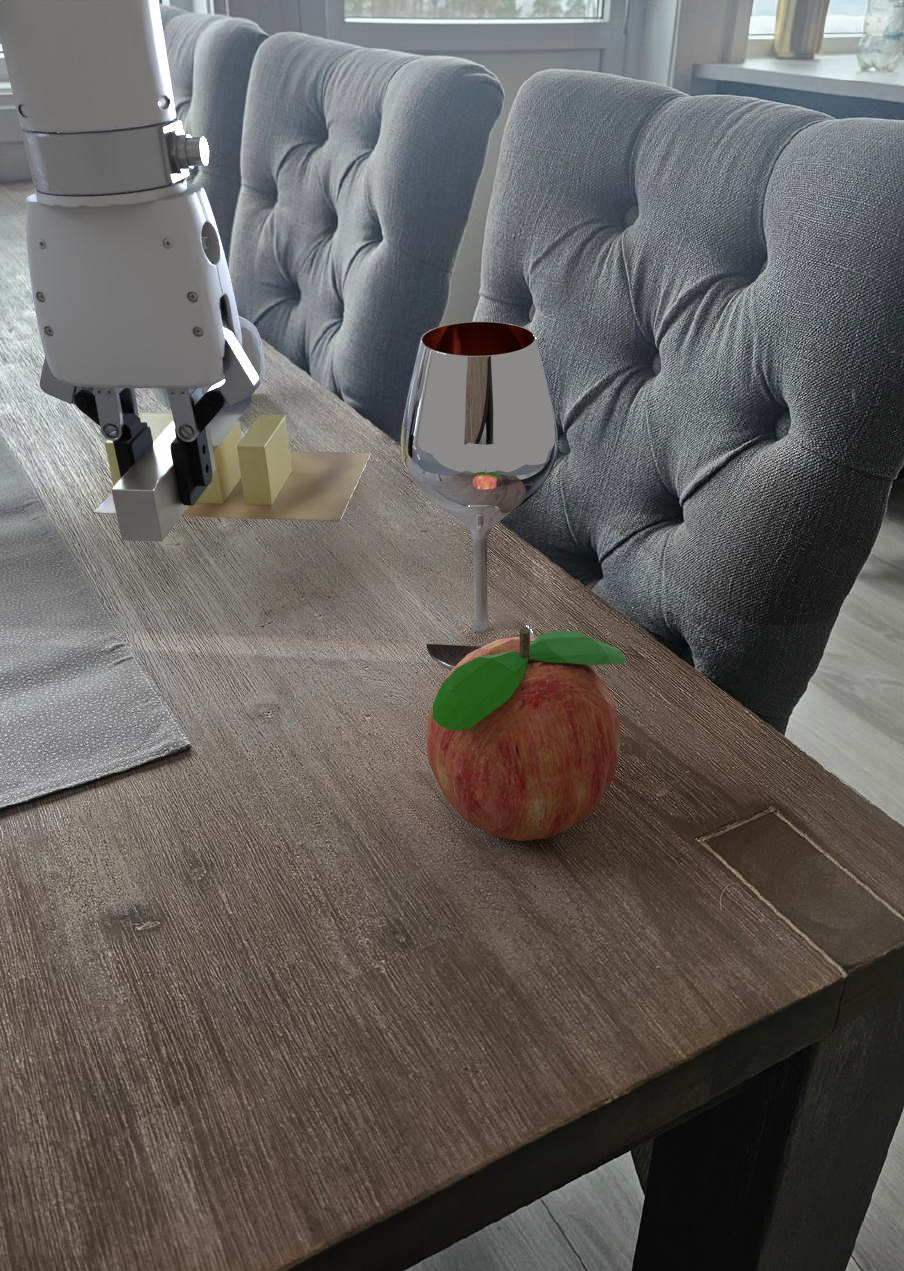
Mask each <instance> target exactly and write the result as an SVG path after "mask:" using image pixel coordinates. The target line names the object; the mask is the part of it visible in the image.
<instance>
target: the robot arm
mask: <svg viewBox="0 0 904 1271" xmlns="http://www.w3.org/2000/svg"><path fill="white" fill-rule="evenodd" d="M0 45H1V49H2V53H3V57H4V61H5V66H6V71H7V74H8V80H9V84H10V88H11V92H12V96H13V101H14V106H15V109H16V115H17V118H18V122H19V127H20V128H21V132H20V133H21V136H22V140H23V145H24V149H25V154H26V158H27V163H28V166H29V171H30V175H31V179H32V185H33V188H34V193H32V194H31V195H29V196H27V197H26V199H25V234H26V248H27V249H26V250H27V261H28V271H29V278H30V286H31V292H32V300H33V305H34V306H33V307H34V312H35V317H36V322H37V327H38V332H39V338H40V341H41V345H42V349H43V352H44V360H43V365H42V369H41V375H40V380H39V387H40V390H41V391H42V392H43V393H44V394H47V395H49V396H50V397H53V398H55V399H58V400H60V401H61V402H62V401H63V402H64V403H67V404H69V405H75V407H76V408H77V409H78V410H79V411H81V413H83V414H84V415H85V416H87V417H88V418H89V419H90V420H91V421H92V422H94V423H95V424H96V425H98V427H100V432H101V434H102V436H103V437H104V438H105V439H106V440H111V441H113V444H114V449H115V453H116V458H117V462H118V467H119V472H120V476H121V478H122V477H123V476H124V475H125V474H126V472H127V471H128V470H129V469H130V468H131V467H132V466H133V465H134V464H135V463H136V462H137V461H138V460H139V459H140V457H141V456H142V455H143V454H144V453H145V452H146V451H147V450H148V449H149V447H150V446H151V445H152V444H153V439H152V434H151V429H150V427H148V425H147V422H141V419H140V418H139V413H140V412H139V407H138V402H137V395H136V389H152V388H165V389H167V392H168V397H169V401H170V406H171V407H170V409H171V413H172V415H173V419H174V423H175V433H176V438H175V439H174V440H173V441H172V442H171V444H170V450H171V456H172V461H173V464H174V465H175V471H176V476H177V482H178V487H179V493H180V499H181V502H182V503H183V504H184V505H190V506H193V505H194V504H195V503H196V502H197V500H198V499H199V498H200V496H201V495H202V494H203V492H204V491H205V489H206V488H207V486H209V484H210V483H211V481H212V476H213V472H212V465H211V459H210V453H209V447H208V441H207V435H206V429H205V427H206V426H207V425H208V424H209V423H210V421H211V420H212V419H213V418H214V417H215V416H216V415H217V413H218V412H219V411H220V410H221V409H223V408H225V407H227V406H231V405H233V404H235V403H237V402H239V401H241V400H243V399H245V398H247V397H249V396H251V395H252V394H253V393H254V392H255V393H256V391H257V390H258V389H259V387H260V385H261V384H260V379H259V377H258V375H257V373H256V372H255V370H254V368H253V366H252V365H251V363H250V361H249V360H248V358H247V356H246V355H245V353H244V351H243V350H242V335H241V328H240V322H239V317H238V316H239V310H238V307H237V301H236V297H235V292H234V289H233V284H232V279H231V274H230V270H229V267H228V262H227V258H226V255H225V254H226V253H225V250H224V247H223V243H222V240H221V236H220V232H219V228H218V225H217V223H216V219H215V216H214V213H213V209H212V207H211V204H210V201H209V198H208V194H207V193H206V189H205V188H204V186H203V185H201V184H197V183H194V184H192V183H191V184H190V183H187V177H188V176H190V170H193V169H194V168H195V167H206V166H208V164H209V160H210V150H209V149H210V148H209V145H208V142H207V139H206V138H205V137H204V136H191V134H188V133H185V131H184V129H183V123H182V121H181V120H178V119H177V112H176V105H175V98H174V91H173V85H172V79H171V72H170V65H169V59H168V54H167V46H166V40H165V34H164V27H163V21H162V14H161V7H160V1H159V0H0ZM222 373H224V376H225V380H224V381H222V382H220V383H217V384H214V383H216V382H217V381H219V380H220V379H221V377H222ZM212 384H214V385H213V386H211V387H210V389H209V390H208V391H207V390H206V386H210V385H212ZM256 389H257V390H256ZM255 393H254V394H255ZM254 394H253V395H254Z"/></svg>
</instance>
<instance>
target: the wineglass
mask: <svg viewBox="0 0 904 1271" xmlns="http://www.w3.org/2000/svg"><path fill="white" fill-rule="evenodd" d="M542 358H543V357H542V355H541V350H540V346H539V343H538V339H537V335H536V334H535V332H533V331H532V330H531V329H529V328H526V327H523V326H520V325H518V324H514V323H507V322H499V321H484V320H483V321H481V320H480V321H461V322H453V323H449V324H444V325H440V326H437V327H434V328H432V329H429V330H427V331H425V333H423V334H422V335H421V337H420V341H419V344H418V348H417V352H416V356H415V361H414V364H413V370H412V374H411V379H410V383H409V387H408V392H407V397H406V403H405V407H404V413H403V417H402V419H403V420H402V424H401V433H400V453H401V458H402V462H403V465H404V468H405V470H406V472H407V474H408V476H409V478H410V479H411V481H412V482H413V484H414V485H415V486H416V487H417V489H418V490H419V491H420V492H421V493H422V494H423V495H424V496H425V497H426V498H427V499H428V500H429V501H431V502H432V503H433V504H434V505H436V506H437V507H439V508H440V509H442V510H443V511H444V512H446V513H448V514H449V515H451V516H452V517H454V518H455V519H456V520H458V522H460V523H461V524H462V525H463V526H465V528H466V529H467V531H468V532H469V533H470V535H471V537H472V564H473V565H472V568H473V571H472V574H473V577H472V578H473V614H472V624H471V629H472V630H473V632H477V633H484V632H485V633H486V632H487V631H489V630H490V628H491V627H490V622H489V608H488V606H489V605H488V539H489V538H488V537H489V535H490V534H491V531H492V530H493V528H494V527H495V526H496V525H497V524H498V523H500V521H501V520H503V519H504V518H505V517H507V516H509V515H510V514H511V513H513V512H514V511H516V510H517V509H518V508H519V507H521V506H522V505H523V504H525V503H526V502H528V501H529V500H530V499H531V498H532V497H533V496H534V495H535V494H537V493H538V491H539V490H540V489H541V488H542V486H543V485H544V484H545V482H546V481H547V479H548V478H549V476H550V475H551V473H552V471H553V469H554V466H555V464H556V460H557V456H558V448H559V434H558V426H557V419H556V415H555V409H554V405H553V400H552V396H551V391H550V386H549V383H548V378H547V374H546V370H545V367H544V362H543V359H542ZM525 628H528V629H529V630H530V637H534V638H536V637H535V634H534V632H533V631H532V629H531V628H530V627H529V626H528V624H526V625H525ZM481 647H483V646H477V645H457V644H456V645H455V644H435V643H433V644H432V643H426V650H427V652H428V654H429V655H430V657H431V658H432V659H433V660H434V661H435V662H437V663H438V664H439V665H441V666H443V667H444V668H447V669H449V670H452V669H453V668H454V667H455V666H456V665H457V664H458V663H459V662H460V661H461V660H462V659H463V658H464V657H465V656H466V655H467V654H469V653H471V652H473V651H475V650H477V649H479V648H481Z"/></svg>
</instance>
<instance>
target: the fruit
mask: <svg viewBox="0 0 904 1271" xmlns="http://www.w3.org/2000/svg"><path fill="white" fill-rule="evenodd" d="M626 660H627V658H626V656H625V655H624V653H623V651H622V650H620V649H618V648H617V647H615V646H613V645H611V644H608V643H606V642H603V641H601V640H598V639H596V638H594V637H591V636H588V635H586V634H583V633H581V632H578V631H571V630H570V631H569V630H555V631H549V632H546V633H542V634H540V635H538V636H537V637H535V638H534V637H530V630H529V629H528V628H526V627H522V628H520V629H519V636H514V637H513V636H512V637H504V638H498V639H495V640H493V641H492V642H489V643H487V644H485V645H483V646H482V647H481V648H479V649H477V650H475V651H473V652H471V653H469V654H467V655H466V656H465V657H464V658H463V659H462V660H461V661H460V662H459V663H458V664H457V665H456V666H455V667H454V668H453V669H450V671H449V672H448V673H447V675H446V676H445V678H444V679H443V681H442V682H441V684H440V686H439V687H438V689H437V691H436V695H435V697H434V700H433V703H432V706H431V708H430V711H429V715H428V716H427V717H428V718H427V730H426V732H427V733H426V752H427V758H428V764H429V766H430V768H431V770H432V773H433V775H434V778H435V779H436V782H437V784H438V786H439V788H440V791H441V794H443V797H444V799H445V801H447V802H448V804H449V805H450V806H451V807H452V808H453V809H454V810H455V811H456V812H457V813H458V814H459V815H460V817H462V819H463V820H464V821H465V822H467V823H469V824H470V825H472V826H474V827H476V828H478V829H480V830H481V831H483V832H485V833H486V834H488V835H491V836H493V837H496V838H502V839H507V840H512V841H519V842H523V841H533V840H534V841H535V840H546V839H549V838H551V837H553V836H556V835H559V834H561V833H563V832H566V831H568V830H571V829H572V828H573V827H575V826H577V825H579V824H580V823H581V822H582V821H583V820H584V819H585V818H586V817H588V815H589V814H590V813H591V812H592V811H593V810H594V809H595V808H596V807H598V805H599V803H600V802H601V800H602V798H603V796H604V795H605V794H606V792H607V790H608V788H609V787H610V786H611V784H612V782H613V780H614V775H615V772H616V767H617V765H618V760H619V754H620V748H621V742H622V738H621V736H622V735H621V733H622V732H621V721H620V718H619V715H618V712H617V708H616V705H615V703H614V701H613V698H612V696H611V694H610V691H609V689H608V687H607V685H606V683H605V682H604V680H603V678H602V677H601V676H600V674H599V672H598V671H597V670H596V669H595V667H594V666H602V665H621V666H623V665H625V662H626Z"/></svg>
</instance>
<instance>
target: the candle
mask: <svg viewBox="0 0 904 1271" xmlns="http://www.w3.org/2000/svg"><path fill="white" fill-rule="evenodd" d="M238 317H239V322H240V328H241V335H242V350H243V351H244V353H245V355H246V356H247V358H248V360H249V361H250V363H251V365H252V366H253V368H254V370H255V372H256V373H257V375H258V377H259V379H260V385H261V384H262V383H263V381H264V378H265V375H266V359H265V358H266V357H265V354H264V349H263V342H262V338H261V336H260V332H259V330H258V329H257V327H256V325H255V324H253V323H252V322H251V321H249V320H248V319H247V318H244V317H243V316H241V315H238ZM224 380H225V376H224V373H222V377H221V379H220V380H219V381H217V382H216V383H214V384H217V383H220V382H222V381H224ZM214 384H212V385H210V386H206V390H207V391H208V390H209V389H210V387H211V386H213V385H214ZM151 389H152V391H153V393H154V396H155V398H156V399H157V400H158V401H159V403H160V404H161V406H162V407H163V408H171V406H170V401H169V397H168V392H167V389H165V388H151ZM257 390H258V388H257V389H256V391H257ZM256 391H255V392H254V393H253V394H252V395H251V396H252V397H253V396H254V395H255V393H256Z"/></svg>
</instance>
